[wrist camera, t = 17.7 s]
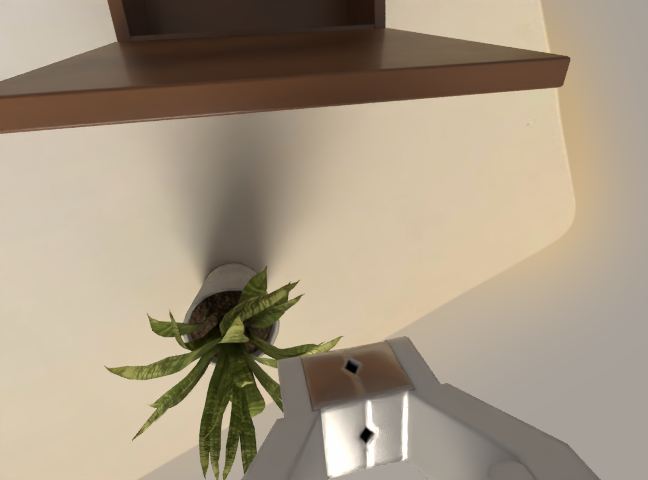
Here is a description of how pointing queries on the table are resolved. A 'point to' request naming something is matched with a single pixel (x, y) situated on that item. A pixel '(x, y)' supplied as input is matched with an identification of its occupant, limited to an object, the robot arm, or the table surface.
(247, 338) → the house plant
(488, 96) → the table surface
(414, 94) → the lid
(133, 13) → the chest
